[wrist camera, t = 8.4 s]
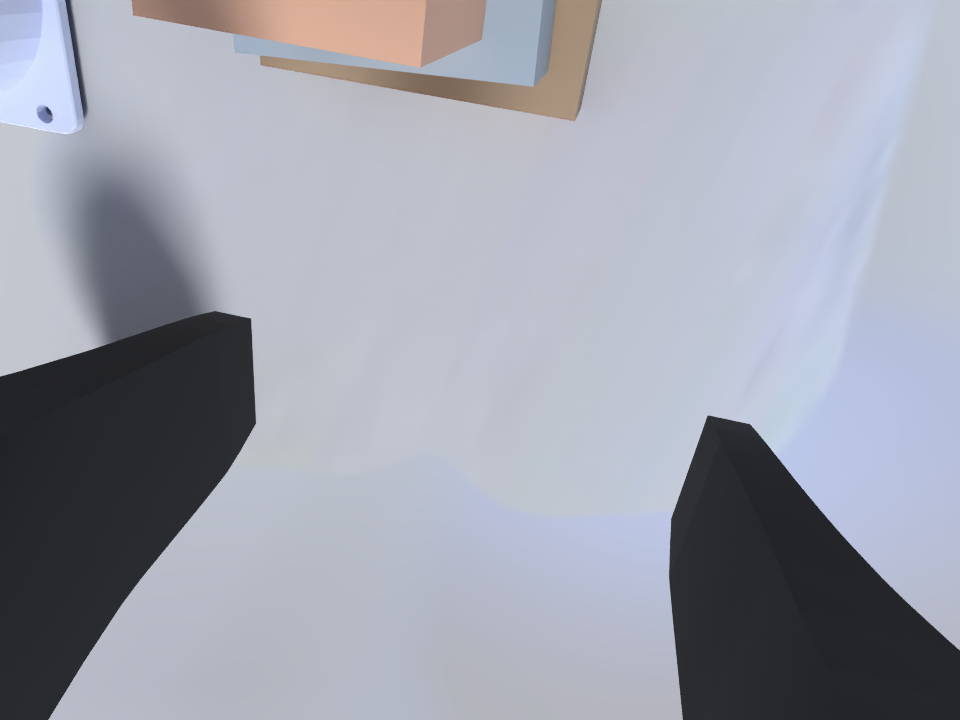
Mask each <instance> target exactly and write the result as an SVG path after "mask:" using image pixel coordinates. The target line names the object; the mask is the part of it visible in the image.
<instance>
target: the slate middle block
mask: <svg viewBox="0 0 960 720" xmlns="http://www.w3.org/2000/svg"><path fill="white" fill-rule="evenodd" d="M555 8H556V0H487V3H486V10H485V18H484V26H483V34H482V40H480V41H478V42H476V43H474V44H471V45H469V46H467V47H465V48H463V49H460V50H458V51H456V52H454V53H452V54H449V55H447V56H445V57H443V58H441V59H439V60H436V61H434V62H432V63H430V64H428V65H425V66H423V67H421V68H419V67H413V66H408V65H402V64H397V63H391V62H386V61H380V60H375V59H370V58H364V57H359V56H353V55H348V54H342V53H337V52H331V51H326V50H320V49H315V48H310V47H304V46H299V45H293V44H288V43H282V42H277V41H271V40H266V39H261V38H255V37H250V36H244V35H239V34H233V35H234V47H235V53H244V54H253V55H261V56H270V57H279V58H288V59H296V60H305V61H314V62H322V63H331V64H340V65H349V66H357V67H366V68H375V69H383V70H392V71H401V72H410V73H418V74H427V75H436V76H444V77H453V78H462V79H471V80H479V81H488V82H497V83H505V84H514V85H523V86H532V87H534V86H535V85H536V84H537V83H538V81H539V80H540V79H541V78H542V77H543V76H544V75H545V74H546V73H547V72H548V68H549V59H550V51H551V42H552V34H553V25H554V17H555Z"/></svg>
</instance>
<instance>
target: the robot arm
mask: <svg viewBox="0 0 960 720" xmlns="http://www.w3.org/2000/svg"><path fill="white" fill-rule="evenodd" d="M46 106H47V107H48V108H49V109H50V110H51V112H52V114H53V119H51V118H50V117H49V115H48V113H47V111H46ZM0 122H3V123H8V124H14V125H19V126H24V127H30V128H35V129H40V130H46V131H51V132H56V133H62V134H71V133H74V132H77V131H79V130H80V129H81V128H82V126H83V124H84V117H83V110H82V104H81V98H80V91H79V85H78V79H77V72H76V66H75V60H74V53H73V47H72V41H71V34H70V28H69V22H68V15H67V9H66V3H65V0H0ZM255 424H256V415H255V394H254V373H253V352H252V330H251V319H250V318H245V317H240V316H235V315H231V314H226V313H221V312H216V311H214V312H210V313H205V314H201V315H197V316H193V317H190V318H187V319H183V320H180V321H177V322H174V323H171V324H167V325H164V326H161V327H158V328H155V329H152V330H149V331H146V332H143V333H140V334H137V335H134V336H131V337H128V338H125V339H122V340H119V341H116V342H113V343H110V344H107V345H104V346H101V347H98V348H95V349H92V350H89V351H86V352H83V353H79V354H76V355H73V356H69V357H66V358H63V359H59V360H56V361H53V362H49V363H46V364H43V365H39V366H36V367H33V368H29V369H26V370H23V371H19V372H16V373H12V374H8V375H5V376H1V377H0V720H48V719H49V718H50V716H51V714H52V713H53V711H54V709H55V708H56V706H57V705H58V703H59V701H60V700H61V698H62V696H63V695H64V693H65V692H66V690H67V688H68V687H69V685H70V683H71V682H72V680H73V678H74V677H75V675H76V674H77V672H78V670H79V669H80V667H81V666H82V664H83V662H84V661H85V659H86V658H87V656H88V655H89V653H90V651H91V650H92V649H93V647H94V646H95V644H96V643H97V641H98V640H99V638H100V636H101V635H102V633H103V632H104V630H105V629H106V627H107V626H108V624H109V623H110V621H111V620H112V618H113V617H114V615H115V614H116V612H117V611H118V609H119V608H120V606H121V605H122V603H123V602H124V600H125V599H126V598H127V597H128V595H129V594H130V593H131V591H132V590H133V589H134V587H135V586H136V585H137V583H138V582H139V580H140V579H141V578H142V577H143V575H144V574H145V573H146V572H147V570H148V569H149V568H150V567H151V566H152V564H153V563H154V562H155V561H156V560H157V558H158V557H159V556H160V555H161V553H162V552H163V551H164V550H165V549H166V547H167V546H168V545H169V543H170V542H171V541H172V540H173V539H174V538H175V536H176V535H177V534H178V533H179V531H180V530H181V529H182V528H183V527H184V525H185V524H186V523H187V522H188V521H189V519H190V518H191V517H192V516H193V514H194V513H195V512H196V511H197V509H198V508H199V507H200V506H201V504H202V503H203V502H204V501H205V499H206V498H207V497H208V496H209V494H210V493H211V492H212V491H213V489H214V488H215V487H216V486H217V484H218V483H219V482H220V481H221V479H222V478H223V477H224V475H225V474H226V473H227V471H228V470H229V468H230V467H231V465H232V463H233V462H234V460H235V459H236V457H237V455H238V454H239V452H240V451H241V449H242V447H243V445H244V443H245V442H246V440H247V438H248V436H249V435H250V433H251V431H252V429H253V428H254V426H255ZM669 579H670V580H669V581H670V592H671V602H672V614H673V624H674V634H675V644H676V655H677V664H678V674H679V685H680V695H681V704H682V715H683V720H960V650H959V649H957V648H956V647H955V646H954V645H953V644H952V643H950V642H949V641H948V640H947V639H946V638H945V637H944V636H943V635H942V634H940V633H939V632H938V631H937V630H936V629H935V628H934V627H933V626H932V625H931V624H930V623H929V622H927V621H926V620H925V619H924V618H923V617H922V616H921V615H920V614H919V613H918V612H917V611H915V609H913V608H912V607H911V606H910V605H909V604H908V603H907V602H906V601H905V600H904V599H903V598H902V597H901V596H899V594H898V593H896V592H895V590H894V589H893V588H892V587H890V586H889V585H888V584H887V583H886V582H885V581H884V580H883V579H882V578H881V576H880V575H879V574H878V573H877V572H876V571H875V570H874V569H873V568H872V567H871V566H870V565H869V564H868V563H867V562H866V561H865V560H864V558H863V557H862V556H861V555H860V554H859V553H858V552H857V551H856V550H855V549H854V548H853V547H852V546H851V545H850V544H849V543H848V541H847V540H846V539H845V538H844V537H843V536H842V535H841V534H840V532H839V531H838V530H837V529H836V528H835V527H834V526H833V525H832V523H831V522H830V521H829V520H828V519H827V518H826V516H825V515H824V514H823V513H822V512H821V511H820V510H819V508H818V507H817V506H816V505H815V503H814V502H813V501H812V500H811V499H810V497H809V496H808V495H807V494H806V493H805V491H804V490H803V489H802V488H801V486H800V485H799V484H798V483H797V482H796V480H795V479H794V478H793V477H792V475H791V474H790V473H789V472H788V470H787V469H786V468H785V466H784V465H783V464H782V463H781V461H780V460H779V459H778V458H777V456H776V455H775V454H774V453H773V451H772V450H771V449H770V448H769V446H768V445H767V444H766V443H765V441H764V440H763V439H762V438H761V436H760V435H759V434H758V433H757V432H756V431H755V429H754V428H753V427H752V426H751V425H750V424H746V423H741V422H736V421H732V420H727V419H722V418H718V417H713V416H708V417H707V419H706V422H705V425H704V428H703V431H702V434H701V436H700V439H699V442H698V445H697V448H696V451H695V453H694V456H693V459H692V462H691V465H690V468H689V470H688V473H687V476H686V479H685V482H684V484H683V487H682V490H681V493H680V496H679V499H678V501H677V504H676V507H675V510H674V513H673V516H672V519H671V539H670V569H669Z"/></svg>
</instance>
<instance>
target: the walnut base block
mask: <svg viewBox="0 0 960 720" xmlns="http://www.w3.org/2000/svg"><path fill="white" fill-rule="evenodd" d="M601 2H602V0H556V8H555V17H554V25H553V34H552V42H551V51H550V59H549V68H548V72H547V73H546V74H545V75H544V76H543V77H542V78H541V79H540V80H539V81H538V83H537V84H536V85H535V86H534V87H532V86H523V85H514V84H505V83H497V82H488V81H479V80H471V79H462V78H453V77H444V76H436V75H427V74H418V73H410V72H401V71H392V70H383V69H375V68H366V67H357V66H349V65H340V64H331V63H322V62H314V61H305V60H296V59H288V58H279V57H270V56H261V55H260V62H261V65H263V66H268V67H274V68H279V69H285V70H291V71H296V72H302V73H307V74H313V75H319V76H324V77H330V78H336V79H341V80H347V81H352V82H358V83H364V84H369V85H375V86H380V87H386V88H392V89H397V90H403V91H408V92H414V93H420V94H425V95H431V96H436V97H442V98H448V99H453V100H459V101H464V102H470V103H476V104H481V105H487V106H493V107H498V108H504V109H509V110H515V111H521V112H526V113H532V114H537V115H543V116H549V117H554V118H560V119H565V120H571V121H575V119H576V117H577V115H578V113H579V111H580V109H581V104H582V99H583V94H584V89H585V84H586V79H587V74H588V69H589V63H590V58H591V53H592V48H593V43H594V38H595V33H596V28H597V23H598V18H599V12H600V7H601Z"/></svg>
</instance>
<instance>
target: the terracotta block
mask: <svg viewBox="0 0 960 720" xmlns="http://www.w3.org/2000/svg"><path fill="white" fill-rule="evenodd" d="M486 3H487V0H132V7H133V15H135V16H141V17H146V18H151V19H157V20H162V21H168V22H173V23H179V24H184V25H190V26H195V27H201V28H206V29H211V30H217V31H222V32H228V33H233V34H239V35H244V36H250V37H255V38H261V39H266V40H271V41H277V42H282V43H288V44H293V45H299V46H304V47H310V48H315V49H320V50H326V51H331V52H337V53H342V54H348V55H353V56H359V57H364V58H370V59H375V60H380V61H386V62H391V63H397V64H402V65H408V66H413V67H419V68H421V67H423V66H425V65H428V64H430V63H432V62H434V61H436V60H439V59H441V58H443V57H445V56H447V55H449V54H452V53H454V52H456V51H458V50H460V49H463V48H465V47H467V46H469V45H471V44H474V43H476V42H478V41H480V40H482V34H483V26H484V18H485V10H486Z"/></svg>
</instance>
